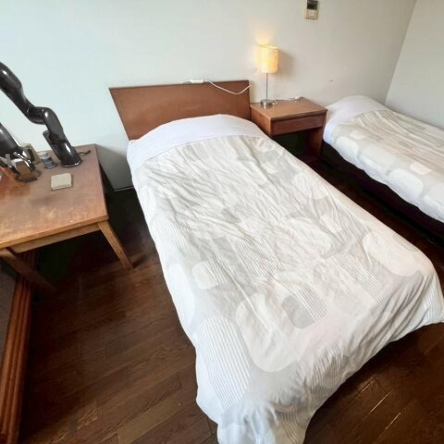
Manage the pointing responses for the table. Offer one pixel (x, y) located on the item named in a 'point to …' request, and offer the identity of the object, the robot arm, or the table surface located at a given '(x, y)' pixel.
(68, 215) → the table surface
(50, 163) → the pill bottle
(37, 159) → the olive brown tapered block
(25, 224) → the table surface
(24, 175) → the brush
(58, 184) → the tile
